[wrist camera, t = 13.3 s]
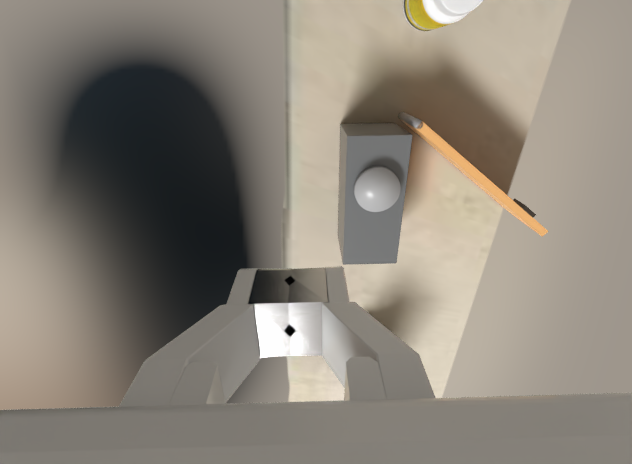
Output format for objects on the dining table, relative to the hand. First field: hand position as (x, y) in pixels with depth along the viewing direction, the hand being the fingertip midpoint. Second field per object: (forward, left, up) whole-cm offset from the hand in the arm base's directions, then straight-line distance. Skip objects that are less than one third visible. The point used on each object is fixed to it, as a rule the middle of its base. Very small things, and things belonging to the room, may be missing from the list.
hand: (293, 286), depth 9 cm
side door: (+5, +18, -29) cm, 34 cm away
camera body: (+7, +7, -29) cm, 31 cm away
